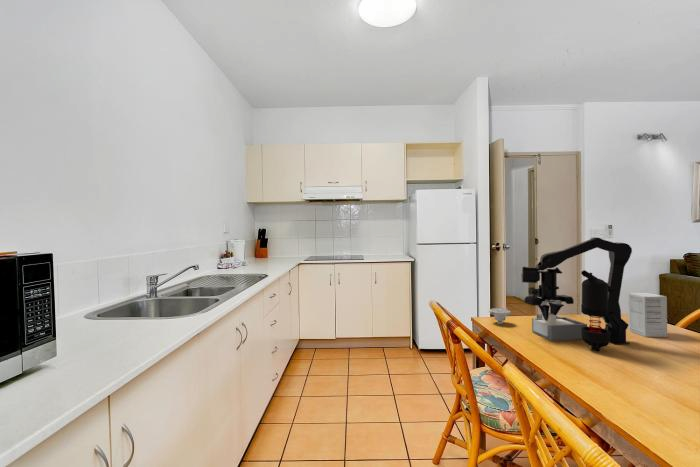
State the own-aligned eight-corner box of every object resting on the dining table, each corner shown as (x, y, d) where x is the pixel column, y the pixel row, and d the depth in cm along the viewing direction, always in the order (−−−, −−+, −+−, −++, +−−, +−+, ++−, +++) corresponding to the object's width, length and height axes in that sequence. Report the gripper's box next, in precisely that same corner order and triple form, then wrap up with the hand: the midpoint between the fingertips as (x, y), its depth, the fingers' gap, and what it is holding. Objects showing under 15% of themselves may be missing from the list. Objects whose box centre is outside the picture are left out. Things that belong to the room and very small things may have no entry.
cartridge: (576, 334, 143) (576, 315, 143) (547, 336, 142) (547, 316, 142) (561, 328, 152) (561, 310, 152) (533, 330, 150) (533, 311, 150)
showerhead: (516, 309, 164) (500, 311, 160) (516, 324, 164) (500, 327, 160) (499, 305, 173) (484, 307, 168) (499, 320, 173) (485, 322, 168)
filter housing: (587, 338, 142) (587, 324, 142) (551, 340, 140) (551, 326, 140) (555, 326, 160) (555, 313, 160) (523, 328, 158) (523, 315, 158)
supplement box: (668, 337, 143) (668, 296, 143) (645, 337, 143) (645, 296, 143) (648, 330, 153) (648, 292, 152) (627, 330, 153) (627, 292, 153)
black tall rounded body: (594, 355, 124) (594, 272, 123) (572, 347, 133) (572, 269, 132) (625, 352, 126) (625, 270, 126) (602, 344, 135) (602, 267, 135)
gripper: (555, 280, 155) (555, 314, 156) (516, 281, 153) (516, 316, 153) (574, 283, 144) (574, 321, 145) (533, 285, 142) (533, 323, 142)
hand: (549, 320), depth 146 cm, fingers closed on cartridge, 2 cm apart
